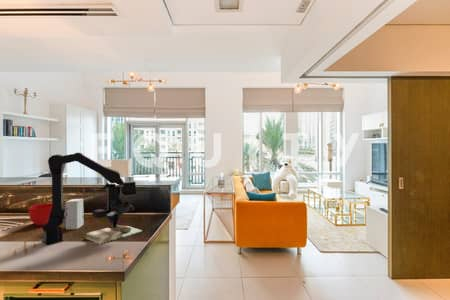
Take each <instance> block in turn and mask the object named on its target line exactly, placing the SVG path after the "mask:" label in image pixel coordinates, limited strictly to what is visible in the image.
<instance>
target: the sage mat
mask: <svg viewBox="0 0 450 300" xmlns="http://www.w3.org/2000/svg"><path fill="white" fill-rule="evenodd" d="M126 226H127V227H130V228H131V231H130V232H122V231H119V232H122V238H126V237H129V236H133V235H135V234H138V233H143V230H142V229H139V228H135V227H132V226H129V225H126ZM132 234H133V235H132Z"/></svg>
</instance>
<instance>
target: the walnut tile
mask: <svg viewBox="0 0 450 300" xmlns="http://www.w3.org/2000/svg"><path fill="white" fill-rule="evenodd" d="M127 226H128V225H121V224H120V225H119V224H116V227H115V228H112V227H111V229H113V230H116V231H122V232H130V231H131V228H130V227H131V226H130V227H127Z"/></svg>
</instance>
